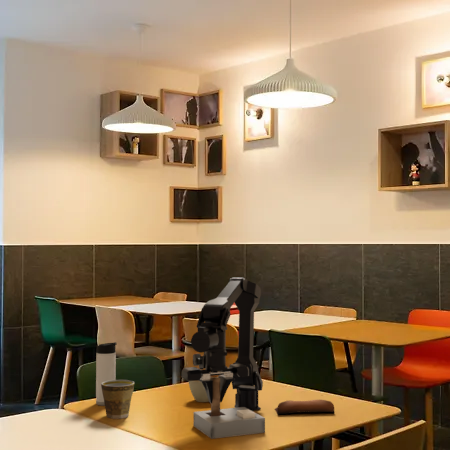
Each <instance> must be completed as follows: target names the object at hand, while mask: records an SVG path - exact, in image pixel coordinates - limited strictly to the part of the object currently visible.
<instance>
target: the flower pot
mask: <svg viewBox="0 0 450 450" xmlns="http://www.w3.org/2000/svg"><path fill="white" fill-rule="evenodd" d="M212 377H213V376H210V379H211V378H212ZM188 385H189V389H190V392H191V394H192V397H193V398H194V400H195V402H197V403H208V402H209V400H208V397H207V394H206V391H205V388H204V386H203V384H202V382H200V381H198V380H197V381H188ZM209 403H210V402H209Z"/></svg>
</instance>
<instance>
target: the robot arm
mask: <svg viewBox="0 0 450 450" xmlns="http://www.w3.org/2000/svg"><path fill="white" fill-rule="evenodd" d="M261 296H262V289H261V286H259V285H258V284H257V283H255V282H253V281H249V280H248V279H247V278H244V277H231V278H229V280H228V283H227V284H226V286H224V287H223V289H222V290H221V292H220V293H219V294H218V296H217V297H216V298H213V299H210V300H208V301H207V302H206V303H204V305H203V306H202V308H201V309H200V314H199V316H198V320H197V323H196V329H197V331H196V332H195V333H194V334H193V335H192V337H191V339H190V343H191V344H190V345H191V348H192V349H193V350H194V351H195V352H198V353H194V354H193V355H192V365H193V366H192V367H191V366H190V367H183V369H182V370H181V378H182V379H183V380H186V381H187V382H189V381H197V380H198V381H200V382H202V384H203V386H204V388H205V391H206V394H207V397H208V400H209V403H210V404H211V403H212V400H213V380H211V379H210V377H215V376H217V377H220V403H222V402H223V400H224V398H225V396H226V393H227V390H228V389H229V387H230V385H232V390H236V393H235V394H234V395H235V396H234V397H235V398H234V401H235V402H234V408H238V407H245V408H247V409H249V410H251V411H257V410H261V407H260V406H259V391H262V390H263V386H264V385H263V384H264V383H263V379H262V377H261V375H260V373H259V365H258V364H257V361H256V360H255V358H254V338H255V337H254V331H255V329H254V328H255V326H254V325H255V311H256V309H257V307H258V305H260V299H261ZM234 304H235V306H236V309H237V310H238V312H239V313H238V342H237V343H238V344H237V345H238V347H237V348H238V349H237V358H236V360H235V362H233V363H232V364H229V366H227V364H226V361H227V360H226V357H227V356H228V352H227V349H226V341H227V338H226V332H227V331H226V330H228V326H227V325H228V323H229V321H230V317H231V315H232V314H231V308H232V306H233V305H234ZM201 353H203V354H201ZM196 366H197V367H196Z"/></svg>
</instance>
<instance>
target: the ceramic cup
mask: <svg viewBox="0 0 450 450" xmlns="http://www.w3.org/2000/svg"><path fill="white" fill-rule="evenodd" d="M134 387H135V381H133V380H128V379H116V380H110V381H105V382H103V383H101V388H102V394H103V398H104V404H105V406H104V409H105V410H104V411H105V415H106V418H109V419H113V420H115V419H119V420H121V419H126V418H128V417H129V414H130V410H131V409H130V408H131V403H132V402H131V401H132V398H133V393H134Z"/></svg>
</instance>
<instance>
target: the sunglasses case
mask: <svg viewBox="0 0 450 450" xmlns="http://www.w3.org/2000/svg"><path fill="white" fill-rule="evenodd" d="M273 409H274V411H275V412H276V414H277V416H278V415H286V414H295V413H327V412H328V413H332V414H335V406H334V403H333V402H332V401H330V400H326V399H311V400H286V401H285V400H284V401H282V402H280V403H279V404H278V405H277V407H275V408H273Z"/></svg>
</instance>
